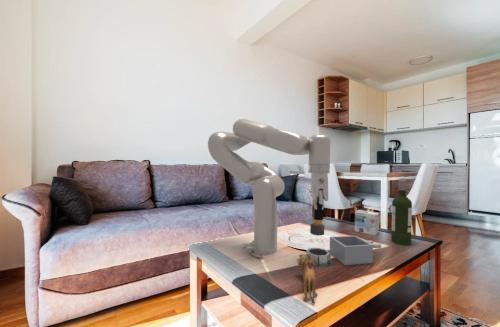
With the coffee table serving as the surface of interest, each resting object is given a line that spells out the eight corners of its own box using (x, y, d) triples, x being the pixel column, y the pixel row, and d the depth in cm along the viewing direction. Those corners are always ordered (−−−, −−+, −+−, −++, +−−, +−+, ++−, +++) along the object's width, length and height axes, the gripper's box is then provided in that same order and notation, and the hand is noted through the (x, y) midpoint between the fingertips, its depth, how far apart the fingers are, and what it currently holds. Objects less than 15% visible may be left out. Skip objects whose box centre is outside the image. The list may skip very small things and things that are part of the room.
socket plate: (310, 271, 85) (310, 258, 85) (298, 258, 96) (298, 247, 96) (339, 269, 87) (339, 256, 87) (324, 257, 98) (325, 245, 98)
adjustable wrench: (333, 253, 102) (333, 249, 102) (325, 248, 109) (325, 244, 109) (383, 248, 108) (383, 244, 108) (373, 243, 115) (373, 239, 115)
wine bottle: (414, 245, 111) (416, 179, 110) (395, 244, 112) (397, 179, 111) (406, 239, 119) (407, 177, 118) (388, 239, 120) (389, 177, 119)
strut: (325, 235, 88) (326, 191, 88) (311, 235, 89) (312, 191, 88) (322, 231, 93) (324, 189, 93) (309, 230, 94) (310, 189, 93)
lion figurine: (295, 278, 80) (296, 251, 80) (312, 278, 80) (312, 251, 80) (305, 305, 66) (305, 272, 65) (325, 306, 66) (325, 272, 65)
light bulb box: (354, 231, 132) (354, 211, 132) (357, 228, 137) (358, 209, 137) (375, 235, 125) (376, 214, 125) (379, 232, 130) (379, 212, 130)
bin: (344, 269, 87) (345, 246, 87) (329, 256, 98) (329, 236, 98) (372, 267, 89) (373, 245, 89) (354, 255, 100) (355, 235, 100)
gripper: (334, 170, 82) (333, 225, 83) (324, 168, 98) (323, 213, 99) (312, 170, 83) (310, 224, 83) (305, 167, 99) (304, 212, 100)
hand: (317, 218), depth 91 cm, fingers closed on strut, 3 cm apart
